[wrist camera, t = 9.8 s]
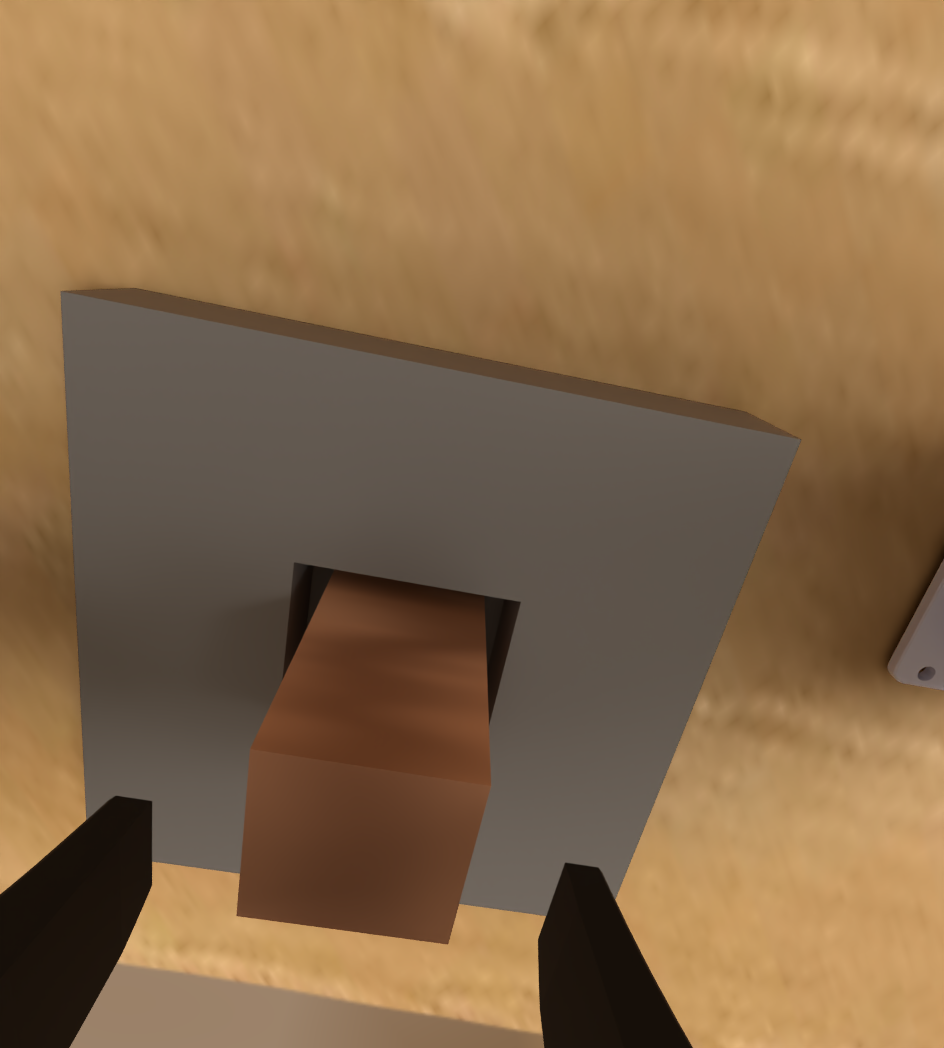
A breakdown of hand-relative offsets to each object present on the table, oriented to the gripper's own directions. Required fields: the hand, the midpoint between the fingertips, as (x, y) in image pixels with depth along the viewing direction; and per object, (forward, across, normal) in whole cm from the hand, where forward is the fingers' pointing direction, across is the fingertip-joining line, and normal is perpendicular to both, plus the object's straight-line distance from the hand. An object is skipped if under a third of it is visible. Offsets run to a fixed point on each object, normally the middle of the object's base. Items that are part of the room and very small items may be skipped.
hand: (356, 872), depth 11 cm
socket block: (+9, 0, 0) cm, 9 cm away
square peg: (+8, 0, 0) cm, 8 cm away
